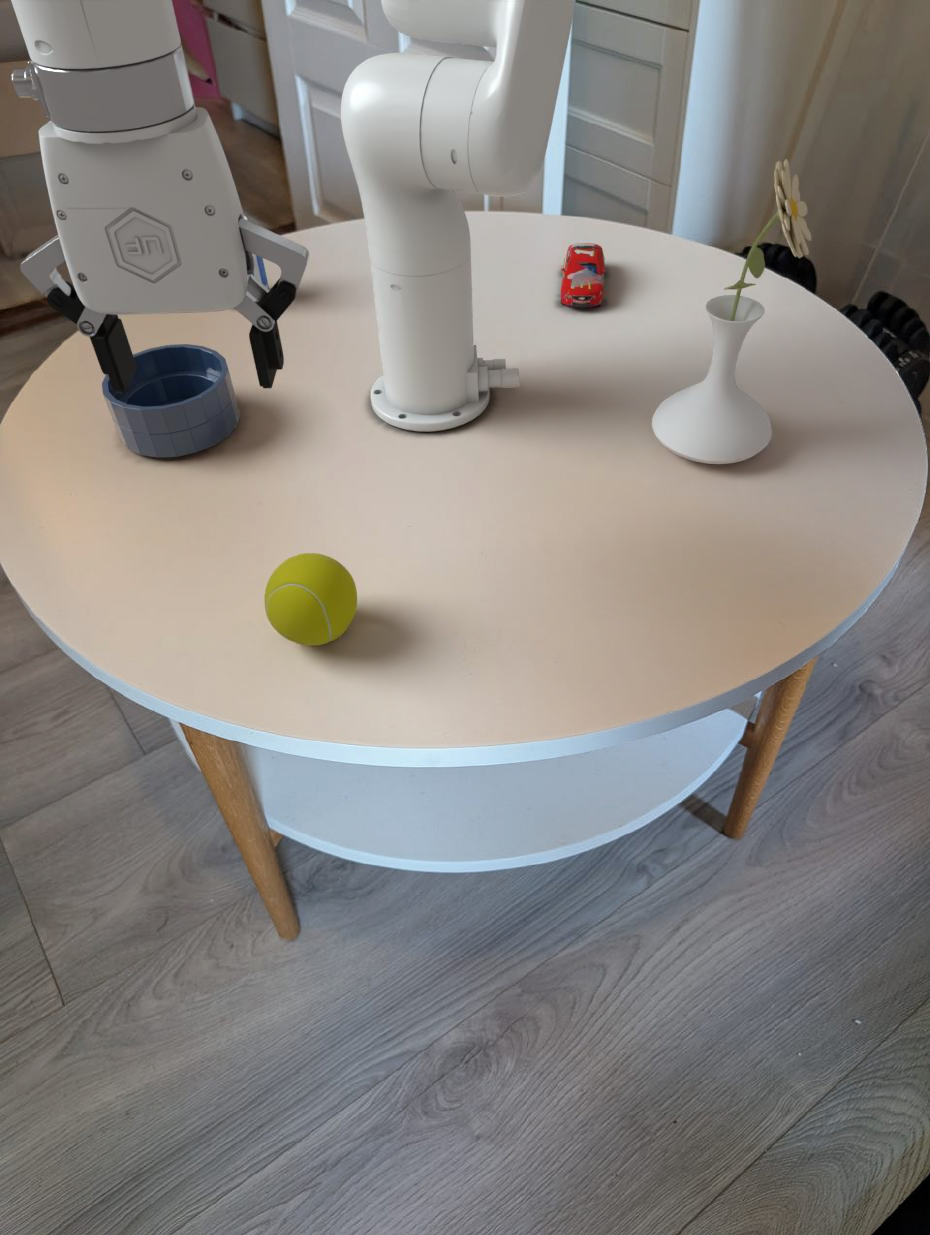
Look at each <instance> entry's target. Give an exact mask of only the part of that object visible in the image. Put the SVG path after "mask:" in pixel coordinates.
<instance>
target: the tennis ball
mask: <svg viewBox="0 0 930 1235" xmlns="http://www.w3.org/2000/svg"><path fill="white" fill-rule="evenodd" d="M357 606H358V591H357V587H356V583H355V580H354V578H353V576H352V574H351V573H350V572H349V570H348V569H347V568H346V567H345V566H344V565H343V564H342V563H341V562H339V561H338V560H337V559H335V558H333V557H331V556H328V555H325V554H321V553H315V552H306V553H299V554H297V555H293V556H291V557H288V558H287V559H285V560H284V561H283V562H281V563H280V564H279V565H278V566H277V567H276V568H275V570H274V571H273V572H272V573H271V575H270V577H269V579H268V581H267V583H266V587H265V591H264V610H265V615H266V617H267V620H268V621H269V623H270V625H271V626H272V628H273V629H274V630H275V631H276V632H277V633H278V634H279V635H281V636H282V637H283V638H285V639H287V640H288V641H289V642H293V643H295V644H298V645H301V646H311V647H312V646H321V645H327V644H329V643H330V642H333V641H336V640H337V639H339V638H340V637H341V636H343V634H344V633H345V632H346V631H347V630H348V628H349V627H350V626H351V624H352V622H353V620H354V617H355V615H356V612H357V608H358V607H357Z"/></svg>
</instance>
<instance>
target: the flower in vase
mask: <svg viewBox="0 0 930 1235" xmlns="http://www.w3.org/2000/svg"><path fill="white" fill-rule="evenodd" d="M774 167H775V168H774V172H773V175H774V176H773V178H774V183H773V184H774V186H773V187H774V191H775V201H776V206H777V209H776V213H774V215H773V216H772V217H771V218H770V220H769V221H768V222H767V224H766V225H765V226H764V228H762V231H760V233H759V235H758V236H757V238H756V239H755V240H754V242H753V244H752V246H751V247H750V250H749V252H748V254H747V258H746V260H745V262H744V265H743V269H742V272H741V275H740V279H739V280H738V281H737V282H735V283H734V284H733V285H729V286H727V287H724V288H723V290H736V293H735V294H725V295H718V296H716V297H713V298H711V299H709V300H708V301H707V302H706V303H705V306H704V307H705V312H706V313H707V315H708V317H709V319H710V322H711V324H712V330H713V347H712V348H713V349H712V357H711V362H710V366H709V370H708V373H707V375H706V377H705V378H704V380H702V381H701V382H698V383H696V384H693V385H690V386H688V387H685V388H683V389H681V390H678V391H675V393H673V394H671V395H670V396H668V397H667V398H666V399H664V400H663V401H662V402H661V403H660V404H659V405H658V407H657V408H656V409H655V411H654V413H653V415H652V418H651V427H652V431H653V433H654V435H655V436H656V438H657V440H658V441H659V443H661V445H662V446H663V447H665V448H666V449H667V450H669V451H670V452H671V453H673V454H674V455H676V456H679V457H681V458H684V459H686V460H690V461H692V462H697V463H701V464H711V465H726V464H727V465H729V464H736V463H740V462H743V461H746V460H749V459H751V458H753V457H754V456H756V455H757V454H759V453H760V452H762V451H763V450H764V449H765V448H766V447H767V446H769V443H770V441H771V439H772V435H773V428H772V423H771V419H770V417H769V414H768V413H767V412H766V410H765V409H764V408H763V407H762V405H760V403H759V402H758V401H757V400H756V399H754V398H753V397H752V396H750V394H748V393H747V392H746V391H745V390H743V389H742V388H740V387H739V386H738V385H737V382H736V369H737V363H738V359H739V355H740V351H741V349H742V346H743V343H744V341H745V340H746V336H747V334H748V332H749V331H750V330H751V328H752V327H753V326H754V324H756V322H758V321H759V320H761V319H762V317H763V316H764V315H765V307H764V305H763V304H761V303H760V301H757V300H756V299H754V298H751V297H747V296H744V295H741V294H742V293H741V292H742V289H746V288H749V287H752V286H756V285H757V284H756V283H750V282H749V283H748V282H745V279H746V274H747V272H748V270H749V272H750V273H751V275H752V276H753V277H754V279H759V278H760V277H762V275H763V273H764V271H765V267H766V262H765V254H764V251H763V250H762V249H761V248H759V247H758V245H759V244H760V242H761V241H762V239H764V236H765V235H766V234H767V232H768V231H769V230H770V229H771V227H772V226H773V225H774V223H775V222H776V221H777V220H779V221H780V222H781V228H782V232H783V235H784V238H785V239H786V242H787V244H788V246H789V248H790V251H791V253H792V255H793V256H794V257H795V258H798V259H801V258H803V257H804V255H805V256H810V255H809V253H810V250H809V248H808V245H807V242H806V240H807V241H808V242H812V234H811V232H810V229H809V228H808V225H807V224H808V223H807V221H806V219H805V218H804V217H805V216H806V215H808V206H807V204H806V202H805V201H803V200H801V194H800V190H799V187H800V181H799V177H798V175H797V174H796V173H795V174H793V176H792V178H791V170H790V169H791V168H790V162H789V160H788V158H785V159H784V161H783V163H782V161H781V160H778V161H776V163H775V166H774Z"/></svg>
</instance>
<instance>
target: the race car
mask: <svg viewBox="0 0 930 1235" xmlns="http://www.w3.org/2000/svg"><path fill="white" fill-rule="evenodd" d="M604 254H605V253H604V250H603V248H602V246H601V245H599V244H597V243H589V242H585V243H584V242H581V243H579V242H577V243H573V244H571V245H569V246H568V248H567V251H566V253H565V255H564V258H563V267H562V268H561V269H560V271H561V272H562V278H561V279H562V280H561V287H560V304H562V305H565V306H568V307H573V308H592V307H593V308H594V307H597V306H601V305H603V298H604V297H603V296H604V288H605V286H604V282H605V281H604V280H605V273H607V269H605V260H606V258H605V255H604Z"/></svg>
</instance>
